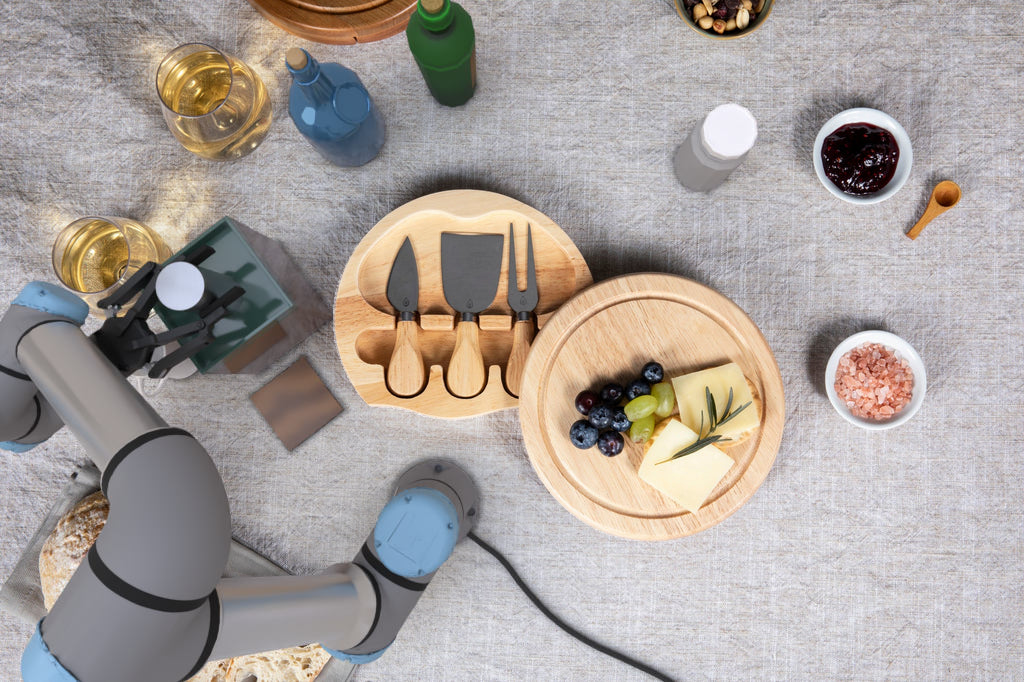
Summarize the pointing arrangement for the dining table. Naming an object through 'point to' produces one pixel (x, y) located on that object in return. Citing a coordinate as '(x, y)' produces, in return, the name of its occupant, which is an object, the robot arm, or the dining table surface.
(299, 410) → the brown coaster
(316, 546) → the dining table surface
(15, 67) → the dining table surface
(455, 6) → the bottle
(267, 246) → the teal boxy piece
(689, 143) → the jar
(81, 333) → the robot arm
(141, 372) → the mug
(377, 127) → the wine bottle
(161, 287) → the can
